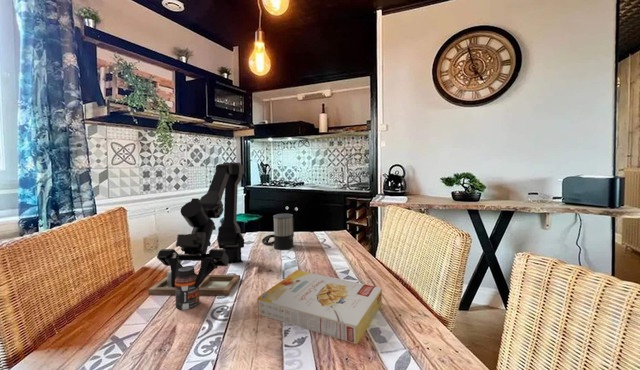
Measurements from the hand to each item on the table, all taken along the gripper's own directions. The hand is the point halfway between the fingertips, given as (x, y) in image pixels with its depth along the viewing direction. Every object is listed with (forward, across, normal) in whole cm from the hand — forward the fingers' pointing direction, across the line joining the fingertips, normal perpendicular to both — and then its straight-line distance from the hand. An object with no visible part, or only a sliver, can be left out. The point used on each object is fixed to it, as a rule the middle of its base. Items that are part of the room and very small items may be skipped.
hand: (184, 287), depth 78 cm
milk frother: (-37, +14, +46) cm, 61 cm away
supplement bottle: (+4, 0, +6) cm, 7 cm away
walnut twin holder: (-4, -3, +14) cm, 15 cm away
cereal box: (+4, +37, +6) cm, 37 cm away
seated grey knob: (-5, -9, +13) cm, 17 cm away
